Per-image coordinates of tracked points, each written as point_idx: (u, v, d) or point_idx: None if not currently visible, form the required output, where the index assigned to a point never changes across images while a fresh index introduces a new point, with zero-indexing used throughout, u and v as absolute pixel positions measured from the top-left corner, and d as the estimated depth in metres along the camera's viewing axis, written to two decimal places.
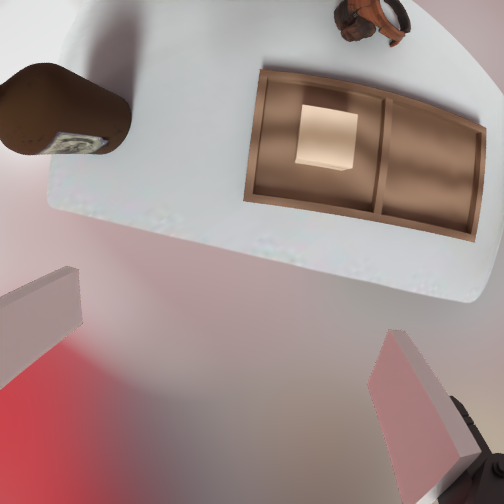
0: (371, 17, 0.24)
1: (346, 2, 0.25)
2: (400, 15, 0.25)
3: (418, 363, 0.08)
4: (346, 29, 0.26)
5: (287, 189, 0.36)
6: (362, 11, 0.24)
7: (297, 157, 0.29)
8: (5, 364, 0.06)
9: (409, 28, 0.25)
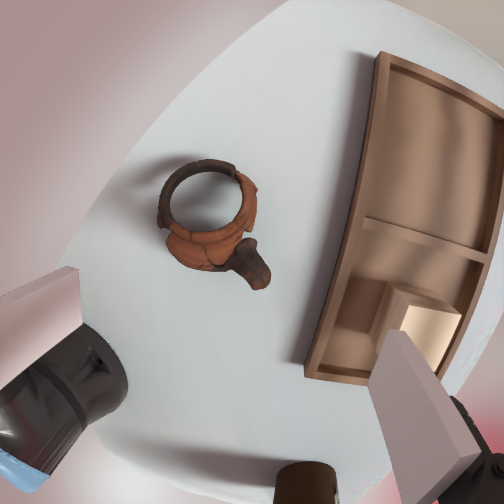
0: (227, 246, 0.22)
1: None
2: (197, 173, 0.24)
3: (418, 363, 0.08)
4: (255, 288, 0.23)
5: None
6: (216, 259, 0.23)
7: (434, 370, 0.22)
8: (5, 364, 0.06)
9: (227, 165, 0.23)
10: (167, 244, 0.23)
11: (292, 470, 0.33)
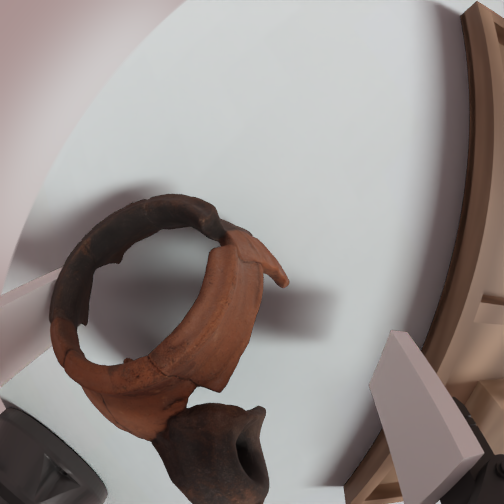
0: (148, 412, 0.07)
1: None
2: (153, 225, 0.11)
3: (420, 364, 0.08)
4: None
5: None
6: (129, 427, 0.07)
7: None
8: (3, 364, 0.06)
9: (197, 206, 0.09)
10: None
11: None
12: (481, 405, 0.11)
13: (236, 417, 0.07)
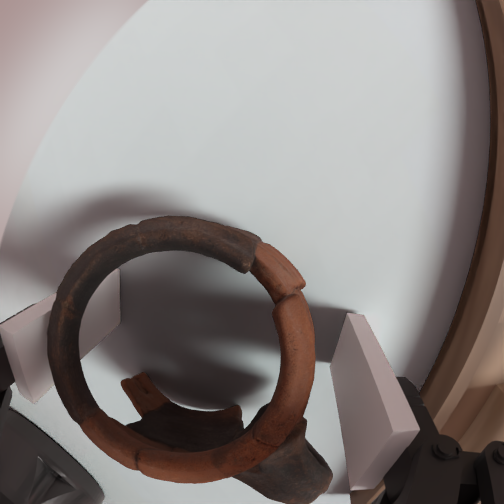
0: None
1: None
2: (145, 253, 0.08)
3: (369, 343, 0.09)
4: None
5: None
6: None
7: None
8: None
9: (228, 241, 0.07)
10: None
11: None
12: (498, 411, 0.10)
13: (305, 430, 0.08)
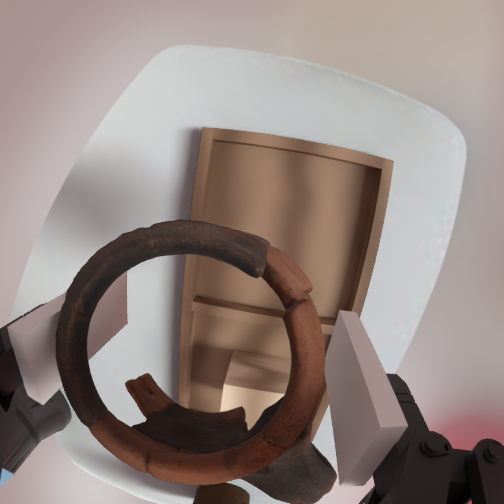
0: None
1: None
2: None
3: (360, 340, 0.09)
4: None
5: None
6: None
7: None
8: None
9: (241, 246, 0.07)
10: None
11: (205, 488, 0.36)
12: None
13: (311, 431, 0.08)
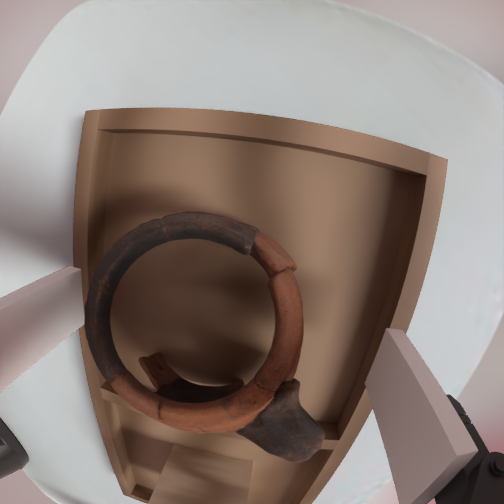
0: (243, 416, 0.09)
1: None
2: (166, 241, 0.10)
3: (415, 362, 0.08)
4: None
5: (279, 500, 0.19)
6: (220, 431, 0.09)
7: None
8: (8, 364, 0.07)
9: (234, 230, 0.09)
10: None
11: None
12: None
13: (298, 389, 0.10)
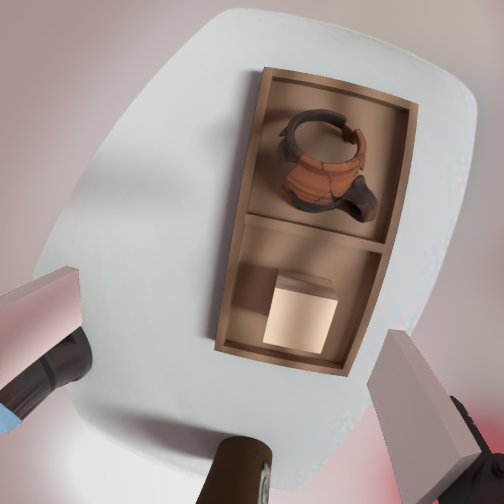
0: (348, 179, 0.24)
1: (305, 202, 0.26)
2: (312, 120, 0.25)
3: (418, 363, 0.08)
4: (367, 220, 0.25)
5: (343, 334, 0.33)
6: (337, 190, 0.24)
7: (319, 352, 0.28)
8: (5, 364, 0.06)
9: (340, 115, 0.24)
10: (289, 177, 0.25)
11: (227, 443, 0.40)
12: None
13: None
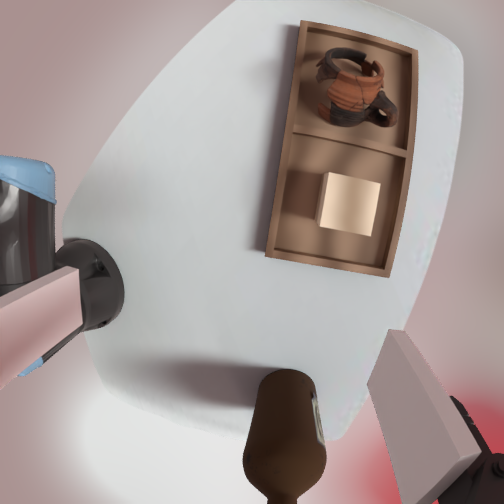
0: (374, 91, 0.27)
1: (342, 110, 0.30)
2: (340, 55, 0.29)
3: (418, 363, 0.08)
4: (391, 122, 0.28)
5: (380, 236, 0.37)
6: (367, 98, 0.28)
7: (369, 235, 0.31)
8: (5, 364, 0.06)
9: (361, 52, 0.28)
10: (330, 89, 0.28)
11: (271, 377, 0.42)
12: (322, 181, 0.35)
13: None
